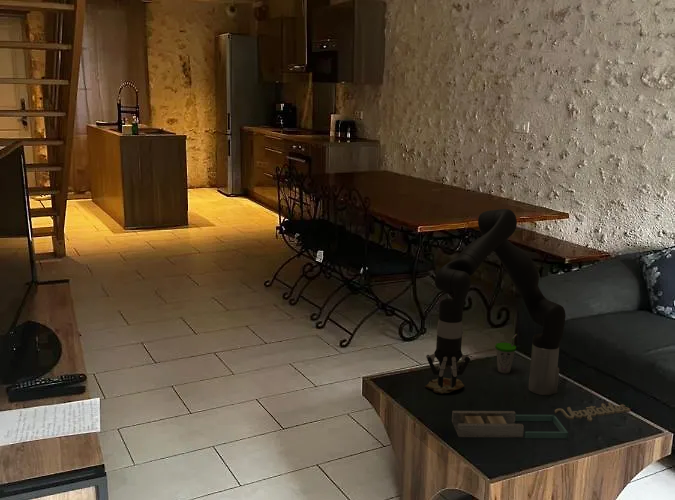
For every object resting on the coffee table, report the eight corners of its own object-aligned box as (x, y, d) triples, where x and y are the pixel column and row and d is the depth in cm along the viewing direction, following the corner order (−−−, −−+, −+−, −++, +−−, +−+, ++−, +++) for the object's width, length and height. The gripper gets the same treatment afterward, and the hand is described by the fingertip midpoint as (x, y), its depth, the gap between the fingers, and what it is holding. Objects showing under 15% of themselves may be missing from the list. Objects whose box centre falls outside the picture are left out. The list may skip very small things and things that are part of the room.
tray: (553, 422, 212) (554, 414, 212) (567, 441, 201) (568, 432, 200) (513, 422, 212) (514, 414, 211) (525, 441, 200) (525, 432, 200)
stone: (436, 398, 229) (437, 390, 229) (423, 386, 238) (423, 379, 238) (469, 393, 234) (470, 385, 233) (454, 381, 243) (455, 373, 242)
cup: (493, 373, 250) (495, 336, 247) (494, 366, 258) (496, 330, 255) (514, 376, 248) (517, 339, 245) (514, 368, 256) (517, 332, 253)
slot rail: (512, 423, 211) (513, 410, 210) (523, 440, 201) (524, 426, 200) (451, 423, 211) (452, 410, 210) (458, 440, 200) (459, 426, 199)
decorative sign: (570, 422, 211) (552, 409, 220) (570, 425, 211) (551, 411, 221) (638, 413, 219) (617, 400, 228) (637, 416, 219) (617, 403, 228)
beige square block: (479, 424, 208) (480, 416, 207) (483, 432, 203) (484, 423, 202) (464, 424, 208) (464, 415, 207) (467, 432, 203) (468, 423, 202)
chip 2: (501, 424, 208) (502, 416, 207) (506, 432, 203) (506, 423, 203) (486, 424, 208) (486, 416, 207) (490, 432, 203) (490, 423, 202)
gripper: (469, 329, 202) (466, 381, 206) (424, 329, 202) (421, 381, 205) (475, 338, 195) (471, 392, 199) (428, 337, 194) (425, 391, 198)
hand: (446, 386), depth 202 cm, fingers open, 3 cm apart
